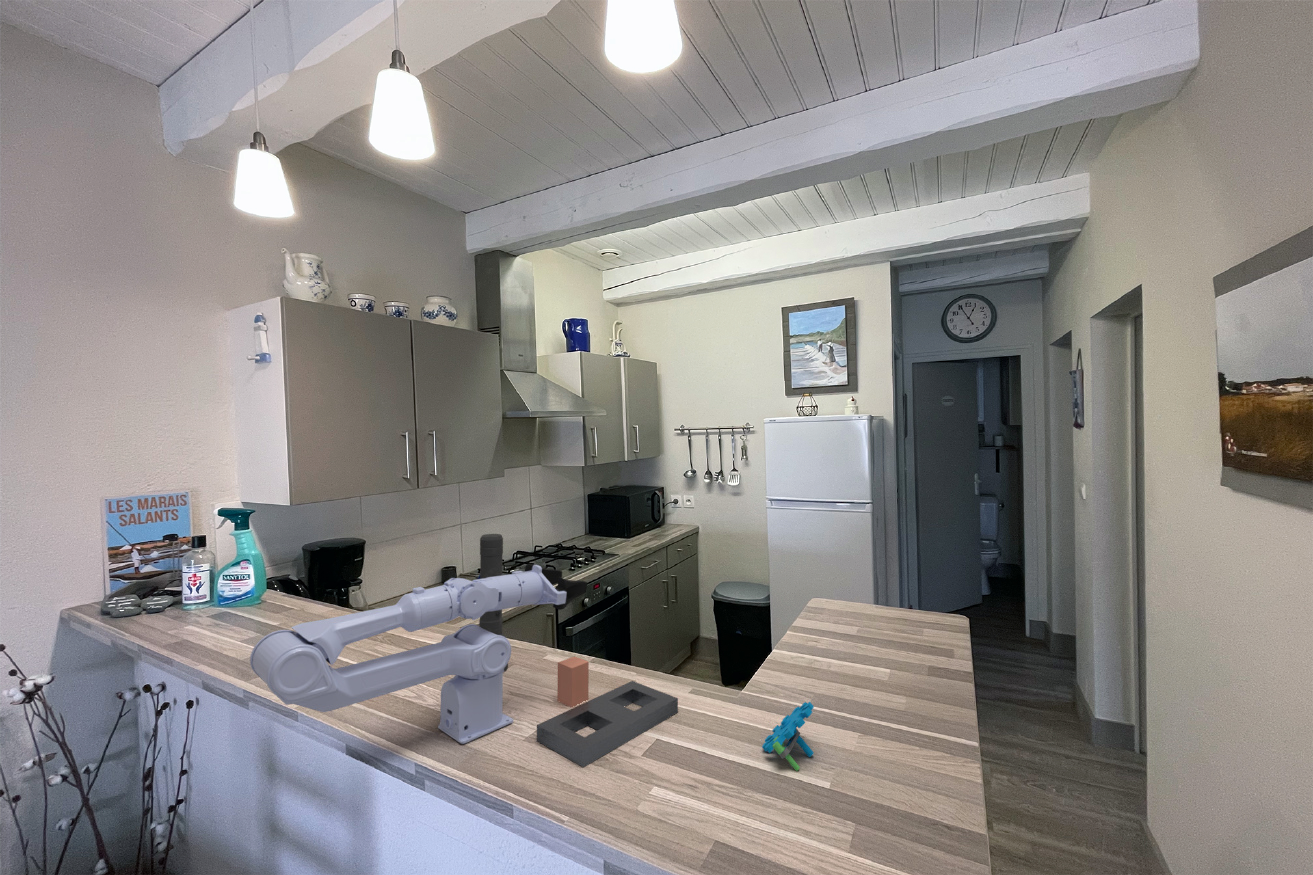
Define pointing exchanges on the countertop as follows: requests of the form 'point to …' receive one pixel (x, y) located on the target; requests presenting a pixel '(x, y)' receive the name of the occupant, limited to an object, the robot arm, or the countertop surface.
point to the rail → (606, 722)
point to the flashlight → (489, 568)
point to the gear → (790, 734)
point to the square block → (573, 681)
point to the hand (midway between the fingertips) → (572, 581)
